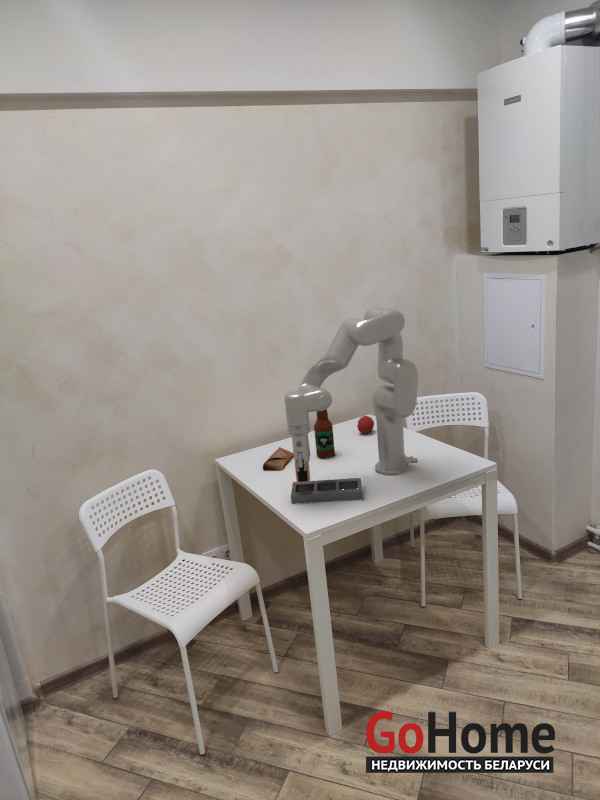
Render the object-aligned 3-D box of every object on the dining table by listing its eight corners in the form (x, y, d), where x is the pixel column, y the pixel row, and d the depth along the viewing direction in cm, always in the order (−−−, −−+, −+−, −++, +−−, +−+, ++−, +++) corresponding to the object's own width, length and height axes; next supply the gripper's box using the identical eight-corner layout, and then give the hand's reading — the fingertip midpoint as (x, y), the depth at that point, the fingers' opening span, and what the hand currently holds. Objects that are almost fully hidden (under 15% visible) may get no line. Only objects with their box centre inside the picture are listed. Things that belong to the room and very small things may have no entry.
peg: (310, 478, 212) (308, 456, 209) (309, 483, 208) (307, 461, 205) (297, 479, 212) (295, 457, 210) (296, 484, 208) (294, 462, 206)
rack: (361, 485, 215) (360, 477, 214) (362, 499, 205) (362, 491, 204) (293, 489, 217) (292, 482, 216) (291, 503, 207) (290, 495, 206)
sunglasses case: (283, 471, 234) (273, 457, 233) (269, 479, 237) (259, 465, 236) (297, 453, 250) (288, 440, 250) (284, 461, 253) (275, 448, 252)
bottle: (314, 458, 243) (309, 398, 236) (319, 451, 250) (313, 393, 243) (332, 459, 241) (327, 398, 234) (336, 452, 248) (331, 393, 241)
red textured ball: (374, 414, 261) (358, 410, 265) (366, 429, 258) (350, 424, 262) (378, 424, 268) (362, 419, 271) (370, 439, 265) (355, 434, 268)
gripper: (308, 435, 196) (313, 488, 201) (310, 419, 212) (315, 467, 217) (285, 437, 197) (290, 489, 202) (289, 420, 213) (294, 469, 218)
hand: (303, 477), depth 209 cm, fingers closed on peg, 4 cm apart
